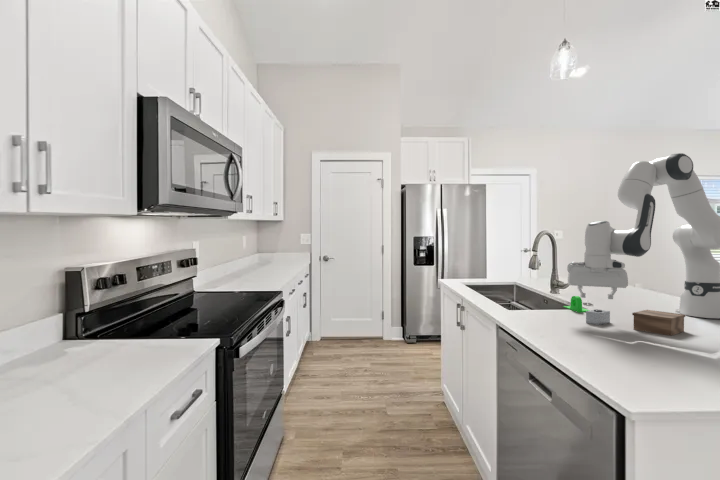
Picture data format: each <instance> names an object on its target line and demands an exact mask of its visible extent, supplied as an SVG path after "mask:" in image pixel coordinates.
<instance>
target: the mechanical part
mask: <svg viewBox="0 0 720 480" xmlns="http://www.w3.org/2000/svg"><path fill="white" fill-rule="evenodd" d="M562 307H563V308H565V309H568V310H569V311H570V310H571V311H573V312H575V311H577V312H576V313H586V311H590V310H591V309H586V308H583V301H582V298H581V296H579V295H573V296H571V298H570V305H563V306H562Z"/></svg>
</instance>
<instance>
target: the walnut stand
mask: <svg viewBox="0 0 720 480" xmlns="http://www.w3.org/2000/svg"><path fill="white" fill-rule="evenodd" d="M631 314H632V316H633V330H636V331H640V332H641V331H642V332H647V333H652V334H653V333H654V334H658V335H664V336H671V337H672V336H674V335H677V334H681V333H684V332H685V317H686V315H684V314H681V313H677V312H668V311H659V310H653V309H652V310H651V309H643V310H639V311H635V312H632V313H631Z"/></svg>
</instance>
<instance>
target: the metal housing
mask: <svg viewBox="0 0 720 480" xmlns="http://www.w3.org/2000/svg"><path fill="white" fill-rule="evenodd" d="M589 310H590V311H586V312H585V323H587V324H589V325H590V324H591V325H596V326H602V325H606V324H609V323H611V321H610V320H611V317H610V316H611V310H605V309H592V310H591V309H589Z"/></svg>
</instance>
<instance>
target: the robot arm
mask: <svg viewBox="0 0 720 480" xmlns="http://www.w3.org/2000/svg"><path fill="white" fill-rule="evenodd" d="M621 180H622V181H620V182H621V183H620V185H619V186H618V188H617V189H618V190H617V197H618V200H619V201H620V202H621V203H622V204H623V205H624V206H626V207H628V208H630V209H634V210H637V214H636V220H635V225H634V227H633V228H630V229H620V230H619V229H616V228H613V227H612V226H611V224H610V222H609V221H607V220H597V221H590V222H589V223H588V224H587V225H586V229H585V235H584V246H585V252H584V259H583V260H584V261H583V262H581V261H580V262H578V261H572V262H570V263H568V265H567V268H566V270H567V272H568V276H567V283H568V285H569V286H577V290H578V291H579V293H580V296H579V297H580V298H581V299H585V298H586V292H583V290H582V289H583V287H595V288H596V287H597V288H599V287H600V288H610V290H612V291H611V292H610V293H608V294H607V300H614V295H615V294H616V292H617V291H618V289H619V288H620V289H626V288H627V287H628V286H629V278H628V272H627V271H626V270H625V268H626V267H625V266H626V264H625V263H624V262H622V261H619V260H616V259H613V258H612V256H611V255H618V256H630V257H637V258H638V257H639V258H640V257H642V256H644V255H645V254H647V253H648V251H649V250H650V249H651V247H652V246H651V245H652V229H653V225H654V219H655V212H656V199H655V197H654V196H653V195H652V191H653V188H654V187H656V186H662V185H666V186H667V190H668V193H669V196H670V199H671V202H672V204H673V207H674V210H675V211H676V212H675V213H676V214H677V216H679V217H680V218H682V219H684V220H685V221H686V222H687V223H685V224H682V225H680V226H678V227H677V226H676V228H675V229H674V230H673V232H672V239H673V242H674V243H675V245H677V247H679V249H680V251H681V253H682V255H683V258H684V263H685V264H684V265H685V280H684V283H683V284H684V285H683V286H684V291H683V292H681V293H680V296H679V297H680V298H679V306H678V307H679V308H678V309H675V311H674V313H676V314H684V315H685V316H690V317H695V318H703V319H704V318H706V319H720V262H719V261H718V260H717V259H715V258H714V256H713V253H712V251H711V250H720V216H719V215H718V213H717V212H716V211H715V210H714V209H713V207H712V206H711V204H710V202H709V199H708V197H707V194H706V192H705V190H704V188H703V187H704V186H703V184H702V182H701V180H700V178H699V177H698V175H697V173H696V172H695V170H694V162H693V160H692V158H691V157H690V156H689V155H687V154H685V153H681V152H680V153H672V154H670V155H666V156H661V157H657V158H655V159H653V160H651V161H645V160H641V161H636V162H633V164H631V165H630V166H629V168H628V170H627V171H626V172H625V174H624V176H623V178H622V179H621Z"/></svg>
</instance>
